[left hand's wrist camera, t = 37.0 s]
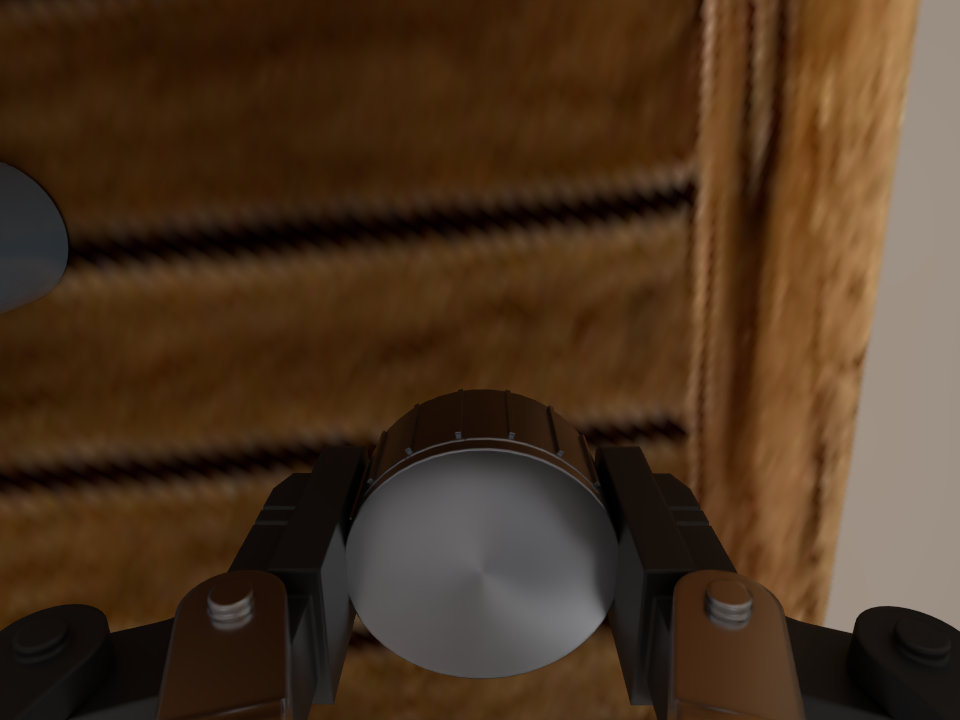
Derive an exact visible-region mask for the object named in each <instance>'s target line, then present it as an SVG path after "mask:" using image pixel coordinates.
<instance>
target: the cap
mask: <svg viewBox="0 0 960 720" xmlns="http://www.w3.org/2000/svg"><path fill="white" fill-rule="evenodd" d="M618 551H619V538H618V534H617V530H616V527H615V524H614V521H613V518H612V515H611V512H610V509H609V506H608V502H607V499H606V496H605V493H604V490H603V487H602V484H601V481H600V478H599V475H598V472H597V469H596V466H595V462H594V460H593V458H592V455H591V453H590V451H589V448H588V445H587V442H586V439H585V436H584V435H583V434H581V435H579V434H578V432H577V431H576V430H575V429H574V428H573V426H572V425H570V424H569V423H568V422H567V421H566V420H565V419H564V418H563V417H562V416H560V415H559V414H557V413H556V412H555V411H554V409H553V407H551V406H548V407H547V406H545V405H543V404H541V403H539V402H537V401H535V400H533V399H530V398H527V397H524V396H522V395H518V394H514V393H511V392H510V390H505V391H497V390H467V391H463V389H460V390H458V392H454V393H450V394H446V395H442V396H439V397H437V398H434V399H432V400H429V401H427V402H424V403H423V404H421V405H419V403H418V404H416V405H415V406H414V409H412V410H411V411H409V412H408V413H406V414H405V415H404V416H402V417H401V418H400V419H399V420H398V421H397V422H396V423H395V424H394V425H393V426H392V427H390V428H389V430H388V431H387V432H385V431H383V433H382V434H381V437H380V440H379V443H378V445H377V447H376V449H375V450H374V452H373V454H372V457H371V460H370V462H369V465H368V467H366V468H365V471H364V474H363V477H362V480H361V484H360V487H359V490H358V493H357V496H356V500H355V503H354V506H353V509H352V512H351V515H350V526H349V529H348V532H347V536H346V540H345V553H346V564H347V576H348V588H349V598H350V601H351V603H352V605H353V608H354V610H355V612H356V613H357V615H358V616H359V618H360V620H361V621H362V623H363V624H364V625H365V626H366V628H367V629H368V630H369V631H370V632H371V634H372V635H373V636H374V637H375V638H376V639H377V640H379V641H380V642H381V643H382V644H383V645H384V646H385V647H387V648H388V649H389V650H391V651H392V652H394V653H395V654H396V655H398V656H400V657H402V658H403V659H405V660H407V661H409V662H411V663H413V664H415V665H417V666H420V667H422V668H424V669H427V670H430V671H434V672H437V673H440V674H444V675H450V676H455V677H461V678H473V679H493V678H502V677H510V676H515V675H519V674H524V673H527V672H531V671H534V670H537V669H540V668H542V667H545V666H547V665H549V664H551V663H553V662H556V661H558V660H559V659H561V658H563V657H564V656H566V655H568V654H569V653H571V652H572V651H573V650H575V649H576V648H577V647H579V646H580V645H581V644H583V643H584V642H585V641H586V640H587V639H588V638H589V637H590V636H591V635H592V634H593V633H594V632H595V631H596V629H597V628H598V627H599V625H600V624H601V623H602V622H603V620H604V619H605V617H606V615H607V614H608V612H609V610H610V608H611V607H612V604H613V602H614V596H615V585H616V573H617V562H618Z"/></svg>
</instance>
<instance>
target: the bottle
mask: <svg viewBox="0 0 960 720" xmlns="http://www.w3.org/2000/svg"><path fill="white" fill-rule="evenodd" d="M67 259H68V238H67V233H66V229H65V226H64V223H63V220H62V218H61V215H60V213H59V211H58V209H57V208H56V206H55V204H54V203H53V201H52V200H51V199H50V197H49V196H48V195H47V193H46V192H45V191H44V190H43V189H42V188H41V187H40V186H39V185H38V184H37V183H36V182H35V181H33V180H32V179H31V178H30V177H28V176H27V175H26V174H24V173H23V172H21V171H19V170H18V169H16V168H14V167H12V166H10V165H8V164H5V163H2V162H0V315H1V314H4V313H6V312H9V311H11V310H13V309H16V308H18V307H21V306H23V305H26V304H28V303H31V302H33V301H35V300H38V299H40V298H42V297H43V296H45V295H46V294H48V293H49V292H50V291H51V290H52V289H53V288H54V287H55V286H56V285H57V283H58V282H59V280H60V279H61V277H62V275H63V273H64V270H65V267H66V264H67Z"/></svg>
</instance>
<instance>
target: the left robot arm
mask: <svg viewBox="0 0 960 720" xmlns="http://www.w3.org/2000/svg"><path fill="white" fill-rule="evenodd" d="M368 465H369V459H368V452H367V448H366V446H324V447H323V449H322V451H321V453H320V455H319V458H318V460H317V462H316V464H315V466H314V468H313V470H312V473H293V474H292V475H291V476H289V477H288V478H287V479H285V480H284V481H283V482H281V483H280V484H279V485H277V486H276V487H275V488H273V490H272V492H271V494H270V496H269V497H268V499H267V501H266V503H265V505H264V509H263V510H261V512H260V514H259V516H258V517H257V519H256V521H255V525H253V527H252V528H251V530H250V532H249V534H248V536H247V537H246V539H245V541H244V543H243V545H242V547H241V548H240V550H239V552H238V554H237V556H236V557H235V559H234V561H233V563H232V565H231V567H230V568H229V570H228V572H227V573H223V574H220V575H217V576H215V577H212V578H210V579H208V580H206V581H204V582H202V583H201V584H199V585H198V586H196V587H195V588H193V589H192V590H191V591H190V592H189V593H188V594H187V595H186V596H185V597H184V598H183V599H182V600H181V602H180V604H179V605H178V607H177V610H176V613H175V617H174V618H171V619H168V620H165V621H161V622H157V623H153V624H149V625H144V626H140V627H135V628H131V629H127V630H122V631H118V632H113V633H110V630H109V626H108V622H107V619H106V616H105V615H104V613H103V612H102V611H100V610H99V609H97V608H95V607H92V606H88V605H82V604H70V605H61V606H56V607H51V608H48V609H44V610H41V611H38V612H35V613H33V614H30V615H28V616H26V617H24V618H21V619H20V620H18V621H16V622H14V623H12V624H11V625H9V626H8V627H6V628H5V629H3V630H2V631H0V720H307V718H308V715H309V711H310V708H311V704H334V701H335V697H336V693H337V689H338V684H339V680H340V676H341V672H342V668H343V664H344V660H345V656H346V652H347V648H348V644H349V640H350V636H351V632H352V628H353V624H354V620H355V616H356V612H355V610H354V608H353V605H352V603H351V601H350V598H349V588H348V576H347V564H346V553H345V540H346V536H347V532H348V529H349V526H350V515H351V512H352V509H353V506H354V503H355V500H356V496H357V493H358V490H359V487H360V484H361V480H362V477H363V474H364V471H365V468H366V467H368ZM595 466H596V469H597V472H598V475H599V478H600V481H601V484H602V487H603V490H604V493H605V496H606V499H607V502H608V506H609V509H610V512H611V515H612V518H613V521H614V524H615V527H616V530H617V534H618V538H619V551H618V562H617V573H616V585H615V596H614V602H613V604H612V607H611V608H610V610H609V612H608V617H609V621H610V625H611V629H612V633H613V637H614V641H615V645H616V649H617V653H618V657H619V660H620V664H621V668H622V672H623V676H624V680H625V684H626V688H627V692H628V696H629V700H630V704H631V705H653V706H654V709H655V713H656V716H657V720H960V631H958V630H957V629H955V628H954V627H952V626H950V625H949V624H947V623H945V622H943V621H941V620H939V619H937V618H935V617H932V616H930V615H927V614H924V613H922V612H919V611H915V610H911V609H907V608H901V607H893V606H879V607H874V608H870V609H868V610H865V611H864V612H862V613H861V614H860V615H859V616H858V617H857V619H856V622H855V626H854V630H853V633H848V632H844V631H839V630H835V629H830V628H826V627H821V626H817V625H812V624H808V623H804V622H801V621H797V620H795V619H792V618H789V617H787V616H785V613H784V610H783V607H782V605H781V604H780V602H779V600H778V599H777V598H776V597H775V596H774V595H773V594H772V593H771V592H770V591H769V590H768V589H767V588H765V587H764V586H762V585H761V584H759V583H758V582H756V581H754V580H752V579H750V578H748V577H745V576H743V575H740V574H738V573H737V571H736V570H735V568H734V566H733V564H732V563H731V561H730V559H729V557H728V555H727V554H726V552H725V550H724V548H723V546H722V545H721V543H720V541H719V539H718V538H717V536H716V534H715V532H714V530H713V529H712V527H711V526H709V521H708V520H707V518H706V516H705V514H704V512H703V511H701V509H700V505H699V504H698V502H697V500H696V498H695V496H694V495H693V493H692V491H691V489H690V488H688V487H687V486H686V485H684V484H683V483H682V482H680V481H679V480H678V479H676V478H675V477H674V476H673V475H671V474H653V473H652V471H651V469H650V467H649V465H648V463H647V461H646V459H645V457H644V455H643V452H642V450H641V449H640V447H632V446H598V447H597V450H596V454H595Z"/></svg>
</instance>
